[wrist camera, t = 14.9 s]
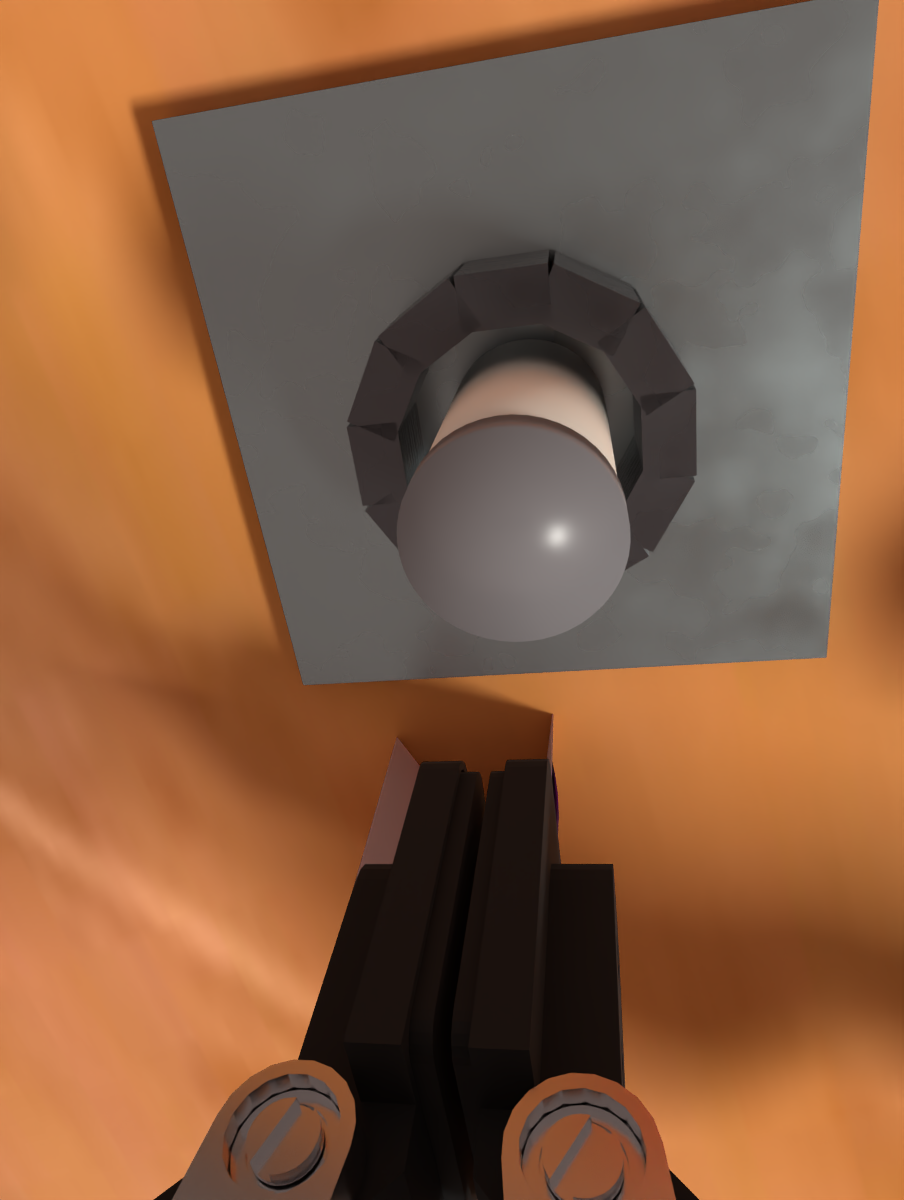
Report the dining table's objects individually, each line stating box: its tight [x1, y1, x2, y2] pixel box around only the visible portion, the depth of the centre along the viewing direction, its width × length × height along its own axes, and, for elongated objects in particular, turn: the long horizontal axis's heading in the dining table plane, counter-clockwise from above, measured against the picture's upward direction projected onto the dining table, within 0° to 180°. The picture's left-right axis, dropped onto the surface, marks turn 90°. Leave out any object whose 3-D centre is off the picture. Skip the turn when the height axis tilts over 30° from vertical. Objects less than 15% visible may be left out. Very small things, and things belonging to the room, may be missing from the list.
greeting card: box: [353, 714, 559, 888], centre depth 31 cm, size 11×7×15 cm, turn 177°
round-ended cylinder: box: [397, 339, 631, 642], centre depth 23 cm, size 5×5×10 cm
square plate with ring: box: [152, 0, 879, 685], centre depth 26 cm, size 20×20×5 cm
